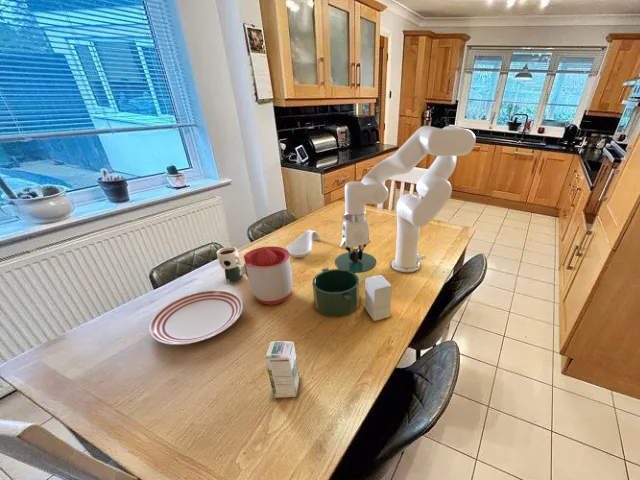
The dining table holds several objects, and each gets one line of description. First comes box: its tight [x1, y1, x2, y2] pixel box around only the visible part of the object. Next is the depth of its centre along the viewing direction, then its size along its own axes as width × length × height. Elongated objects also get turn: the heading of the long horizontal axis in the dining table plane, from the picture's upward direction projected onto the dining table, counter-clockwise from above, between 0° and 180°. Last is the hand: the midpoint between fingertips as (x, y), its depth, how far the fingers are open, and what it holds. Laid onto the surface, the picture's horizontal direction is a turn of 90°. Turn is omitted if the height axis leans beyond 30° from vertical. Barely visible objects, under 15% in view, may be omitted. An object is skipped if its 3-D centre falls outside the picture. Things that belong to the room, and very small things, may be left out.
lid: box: [334, 248, 378, 274], centre depth 125 cm, size 17×17×6 cm
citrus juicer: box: [240, 245, 293, 305], centre depth 109 cm, size 16×17×20 cm
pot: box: [312, 267, 361, 317], centre depth 110 cm, size 16×22×10 cm
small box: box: [364, 274, 393, 322], centre depth 105 cm, size 8×6×13 cm
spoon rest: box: [285, 229, 321, 258], centre depth 146 cm, size 24×12×7 cm, turn 167°
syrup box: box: [264, 340, 300, 399], centre depth 77 cm, size 6×6×14 cm
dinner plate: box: [148, 289, 244, 346], centre depth 101 cm, size 28×27×3 cm
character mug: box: [216, 246, 244, 283], centre depth 120 cm, size 11×7×13 cm, turn 70°
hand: (355, 259), depth 125 cm, fingers closed on lid, 2 cm apart
